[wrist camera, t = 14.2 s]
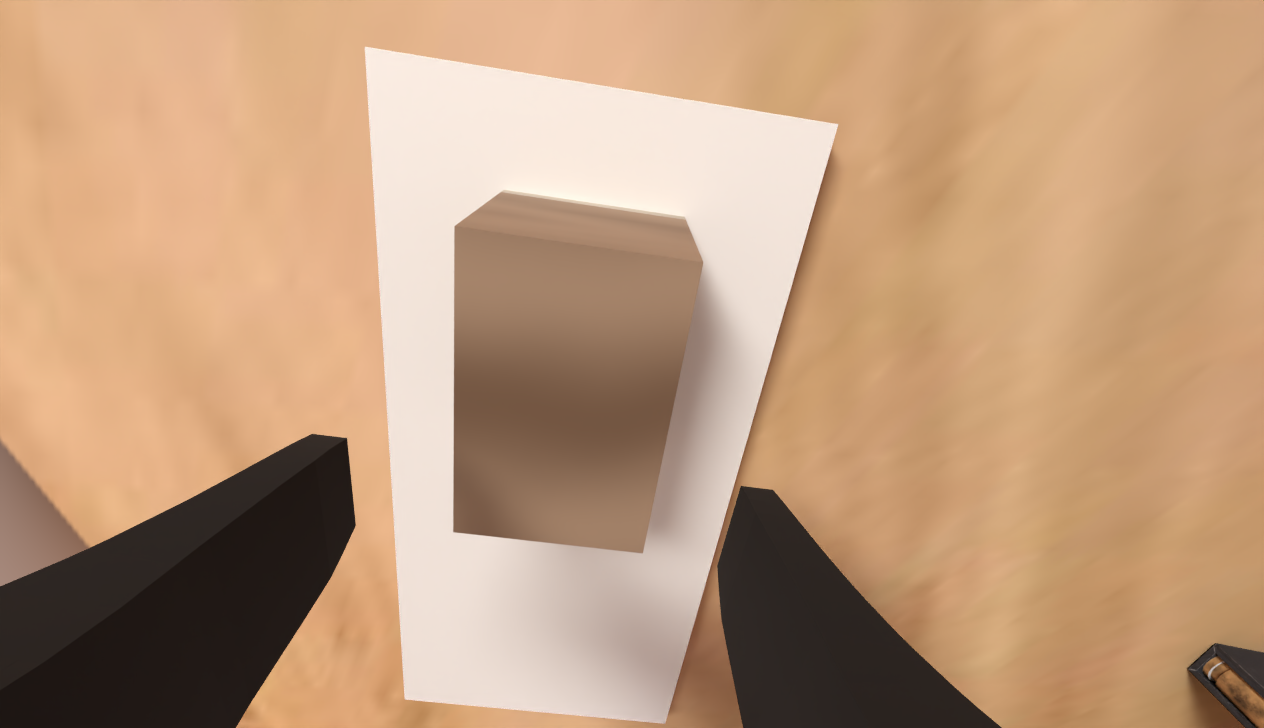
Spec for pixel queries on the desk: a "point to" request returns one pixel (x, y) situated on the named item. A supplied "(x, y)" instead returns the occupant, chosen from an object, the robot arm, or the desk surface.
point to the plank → (706, 394)
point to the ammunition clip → (1234, 681)
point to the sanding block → (566, 366)
